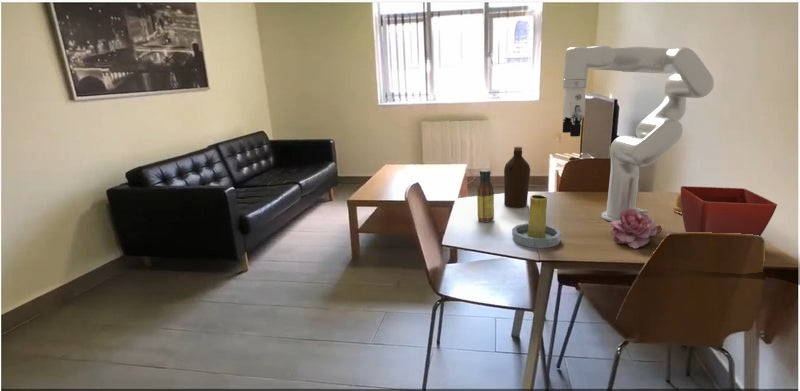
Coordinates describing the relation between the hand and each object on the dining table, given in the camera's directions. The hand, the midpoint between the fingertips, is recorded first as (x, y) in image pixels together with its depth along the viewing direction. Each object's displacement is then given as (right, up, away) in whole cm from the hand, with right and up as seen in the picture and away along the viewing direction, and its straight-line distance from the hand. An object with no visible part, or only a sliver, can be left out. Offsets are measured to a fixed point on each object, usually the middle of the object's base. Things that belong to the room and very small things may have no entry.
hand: (570, 134), depth 155 cm
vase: (-14, -36, -6) cm, 39 cm away
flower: (+16, -37, -10) cm, 42 cm away
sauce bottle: (-28, -32, +15) cm, 44 cm away
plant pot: (+41, -38, -15) cm, 58 cm away
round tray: (-14, -37, -6) cm, 40 cm away
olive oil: (-11, -26, +32) cm, 43 cm away
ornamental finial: (+51, -29, +16) cm, 61 cm away
